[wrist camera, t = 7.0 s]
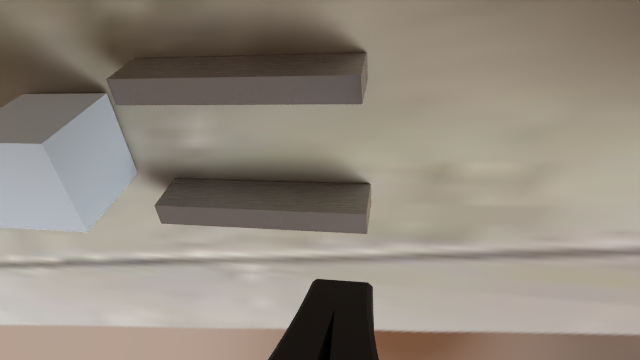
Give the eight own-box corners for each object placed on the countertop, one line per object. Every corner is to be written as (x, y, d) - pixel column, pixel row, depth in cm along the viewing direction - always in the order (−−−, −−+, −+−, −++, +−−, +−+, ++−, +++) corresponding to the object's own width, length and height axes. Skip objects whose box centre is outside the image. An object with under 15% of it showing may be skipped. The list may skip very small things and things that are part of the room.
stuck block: (106, 93, 18) (41, 143, 15) (137, 173, 21) (87, 232, 18) (22, 94, 19) (-56, 142, 16) (62, 171, 21) (0, 227, 18)
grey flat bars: (366, 52, 16) (361, 75, 14) (370, 202, 20) (367, 233, 18) (134, 58, 17) (106, 79, 16) (180, 195, 21) (161, 223, 20)
